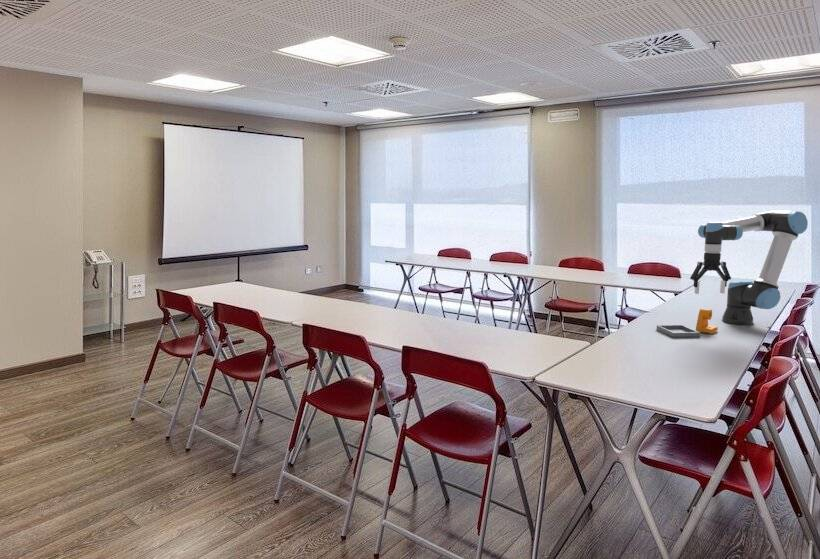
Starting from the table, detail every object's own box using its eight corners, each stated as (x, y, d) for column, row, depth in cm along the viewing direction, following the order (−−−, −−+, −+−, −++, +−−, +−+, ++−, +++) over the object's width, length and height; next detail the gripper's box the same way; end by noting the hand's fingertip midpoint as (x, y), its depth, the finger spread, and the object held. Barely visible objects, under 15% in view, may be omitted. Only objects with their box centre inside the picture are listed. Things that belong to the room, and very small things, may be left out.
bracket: (710, 334, 290) (712, 311, 288) (695, 332, 295) (697, 309, 293) (718, 331, 297) (719, 309, 295) (703, 329, 302) (705, 307, 300)
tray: (682, 329, 301) (682, 324, 301) (700, 337, 285) (700, 332, 284) (656, 329, 301) (656, 325, 300) (672, 337, 284) (673, 333, 284)
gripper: (731, 251, 294) (728, 291, 297) (684, 251, 293) (682, 292, 296) (740, 252, 287) (737, 294, 290) (692, 253, 286) (689, 294, 289)
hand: (709, 293), depth 293 cm, fingers open, 13 cm apart
